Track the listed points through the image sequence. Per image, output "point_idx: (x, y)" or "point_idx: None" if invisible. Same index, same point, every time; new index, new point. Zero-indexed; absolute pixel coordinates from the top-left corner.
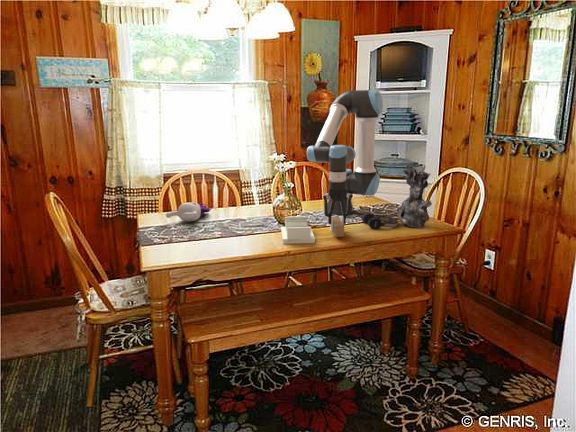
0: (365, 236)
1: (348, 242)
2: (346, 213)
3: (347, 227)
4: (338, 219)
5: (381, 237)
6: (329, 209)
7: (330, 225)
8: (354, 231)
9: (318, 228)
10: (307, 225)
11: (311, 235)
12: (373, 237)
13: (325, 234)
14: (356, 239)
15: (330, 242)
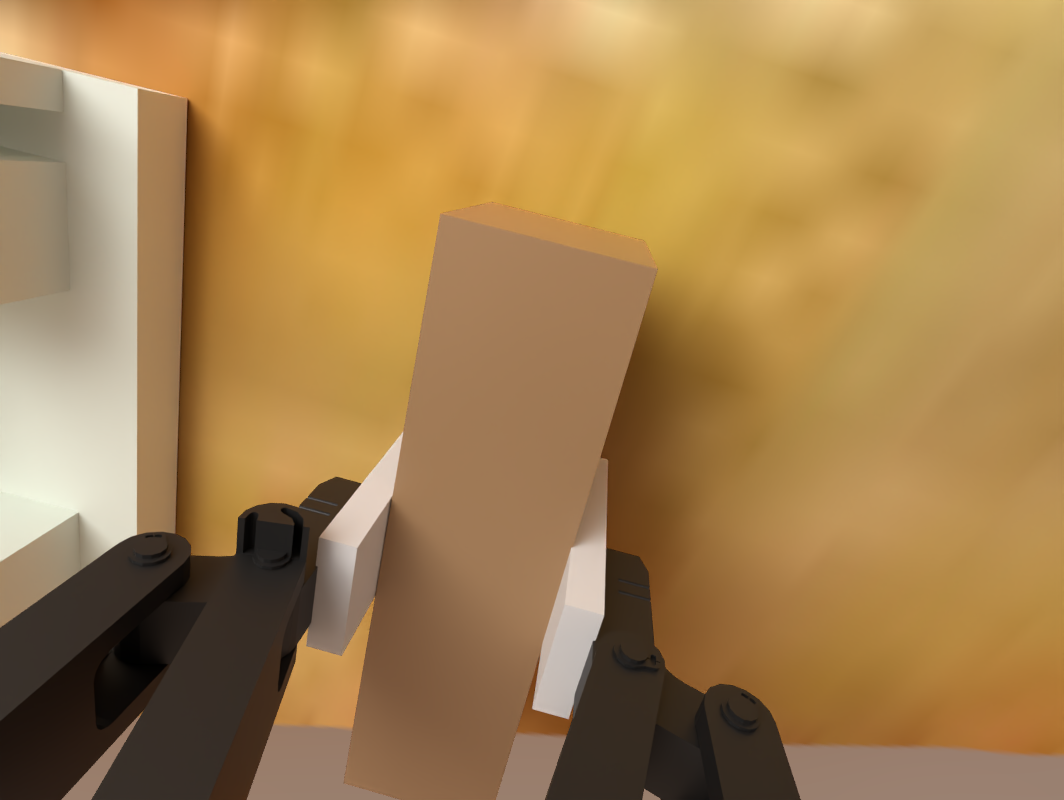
0: (860, 617)
1: (537, 720)
2: (658, 784)
3: (890, 104)
4: (534, 507)
5: (1032, 712)
6: (167, 681)
7: (395, 442)
8: (859, 372)
9: (346, 7)
10: (1, 302)
11: (106, 546)
12: (933, 680)
13: (370, 372)
14: (678, 671)
15: (343, 657)
